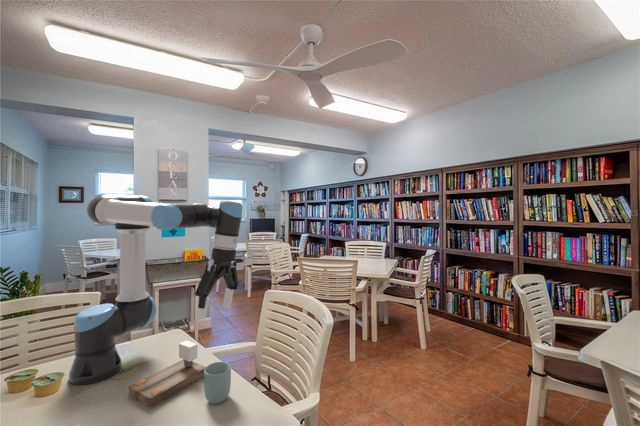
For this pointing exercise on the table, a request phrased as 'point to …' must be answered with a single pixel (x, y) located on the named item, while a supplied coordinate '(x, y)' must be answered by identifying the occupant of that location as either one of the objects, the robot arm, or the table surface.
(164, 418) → the table surface
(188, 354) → the fader knob
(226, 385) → the cup
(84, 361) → the robot arm
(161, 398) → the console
